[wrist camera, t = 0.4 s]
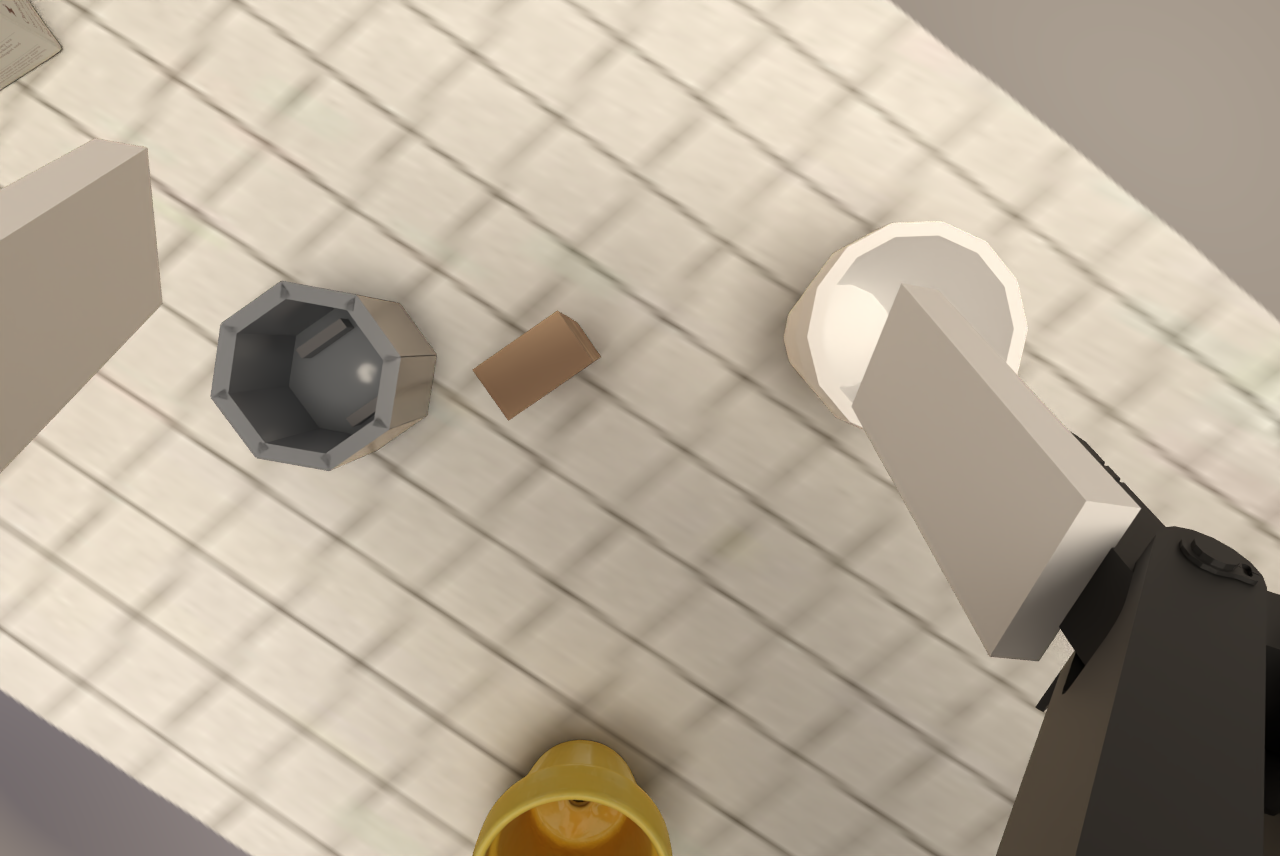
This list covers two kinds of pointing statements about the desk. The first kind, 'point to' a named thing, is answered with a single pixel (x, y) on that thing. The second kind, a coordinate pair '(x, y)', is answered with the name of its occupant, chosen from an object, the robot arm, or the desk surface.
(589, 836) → the plant pot
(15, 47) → the supplement box
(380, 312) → the jar
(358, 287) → the desk surface
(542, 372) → the tan wooden beam
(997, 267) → the foam cup
